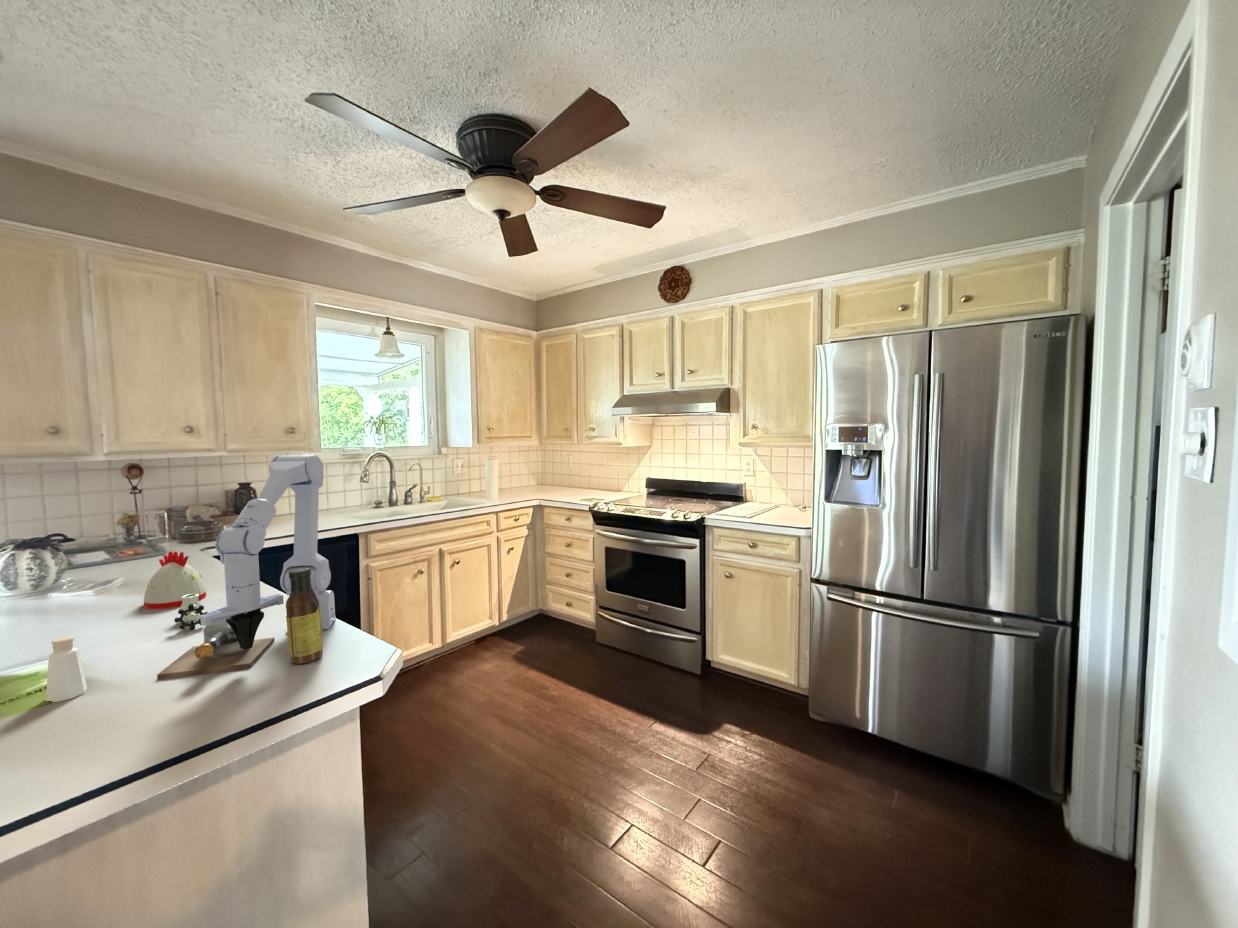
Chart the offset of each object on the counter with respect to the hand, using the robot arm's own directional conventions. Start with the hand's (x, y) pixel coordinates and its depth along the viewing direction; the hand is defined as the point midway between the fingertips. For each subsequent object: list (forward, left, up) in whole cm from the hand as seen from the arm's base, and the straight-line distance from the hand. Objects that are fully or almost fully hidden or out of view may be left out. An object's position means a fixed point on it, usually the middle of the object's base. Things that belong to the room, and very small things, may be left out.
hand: (246, 647), depth 105 cm
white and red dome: (+38, -58, -5) cm, 70 cm away
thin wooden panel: (+8, -7, -4) cm, 11 cm away
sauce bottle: (-11, -1, -5) cm, 12 cm away
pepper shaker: (+28, +2, -5) cm, 29 cm away
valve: (+24, -35, -5) cm, 43 cm away
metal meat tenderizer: (+6, -5, -1) cm, 8 cm away
